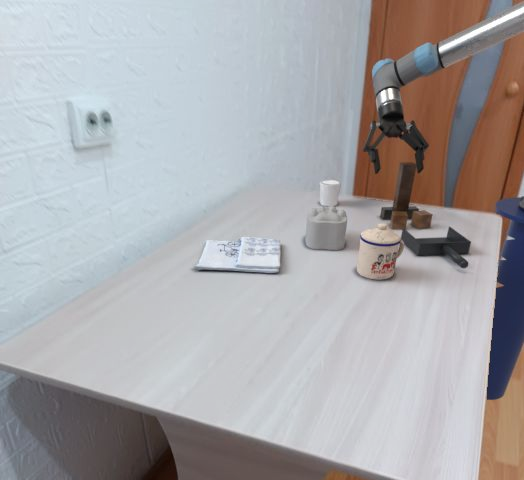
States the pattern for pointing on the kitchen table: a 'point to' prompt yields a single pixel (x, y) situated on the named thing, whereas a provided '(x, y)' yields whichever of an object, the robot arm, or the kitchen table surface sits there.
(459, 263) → the dustpan
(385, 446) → the kitchen table surface
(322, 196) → the white cup
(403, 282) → the kitchen table surface
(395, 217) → the brown cube
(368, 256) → the teacup with lid
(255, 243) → the folded kitchen towel
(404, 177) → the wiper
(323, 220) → the grey rounded block
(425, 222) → the crumb
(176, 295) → the kitchen table surface
